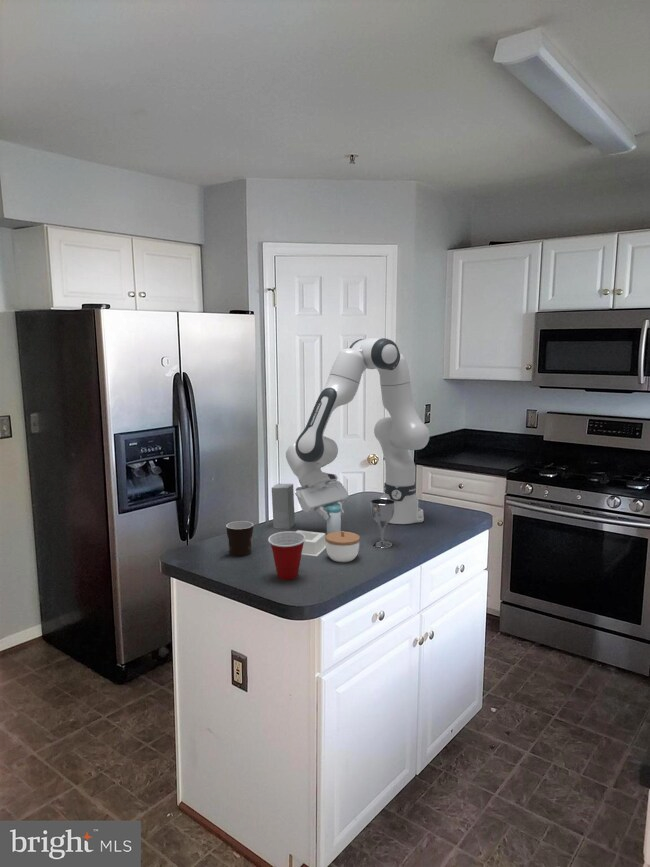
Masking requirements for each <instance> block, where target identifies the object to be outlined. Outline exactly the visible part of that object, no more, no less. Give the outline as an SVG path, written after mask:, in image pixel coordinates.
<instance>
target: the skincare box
mask: <svg viewBox="0 0 650 867" xmlns="http://www.w3.org/2000/svg"><path fill="white" fill-rule="evenodd" d="M271 501H272V502H271V504H272V505H271V506H272V520H273V522H272V523H273V524H272V526H273V529H285V530H290V529H291V528H294V526H295V525H296V519H295V517H296V515H295V490H294V483H277V484H275V485H273V486H272V487H271Z"/></svg>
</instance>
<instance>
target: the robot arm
mask: <svg viewBox="0 0 650 867" xmlns="http://www.w3.org/2000/svg"><path fill="white" fill-rule="evenodd" d="M365 370H376V371H378V374H379V384H380V392H381V402H382V406H383V407H384V408H385V410H386V411H387V412H388V413H389V416H388V417H382V418H379V419H378V421H377V422H376V423H375V425H374V429H373V434H374V437H375V439H376V440H377V441H378V442H379V444H380V447H381V450H382V454H383V459H384V464H385V482H384V484H383V485H384V486H383V491H384V492H383V495H381V496H380V497H379V498H386V499H392V500H394V501H395V509H394V514H393V517H392V519H391V520H390V521H389V523H388V524H394V525H395V524H396V525H409V524H411V525H412V524H415V523H423V521H425V520H424V519H425V518H424V509H422V508H421V507H419V499H418V496H417V494H416V491H417V486H416V481H415V479H416V477H415V475H416V473H415V472H416V465H415V464H416V463H415V462H414V460H413V458H411V456H410V452H409V451H418V450H422V449H424V448H425V447H426V446H428V443H429V441H430V437H431V436H430V435H431V434H430V430H429V428H428V426H426V424H424V422H423V421H422V420H421V418H420V416H419V414H418V412H417V410H416V409H417V408H416V407H415V403H414V399H413V394H412V386H411V376H410V370H409V367H408V363H407V360H406V357H405V356H404V355H403V354H401V353H400V349H399V347H398V345H397V344H396V342H395V341H393V340H391V339H389V338H384V337H382V338H380V337H369V338H360V339H357V340H355V341H354V342H352V343H351V344H350V346H349V348H347V347H346V348H343V349H341V350H340V351H339V352H338V354H337V356H336V358H335V359H334V362H333V364H332V367H331V369H330V372H329V376H328V378H327V381H326V383H325V385H324V388H323V389H322V391H321V392H320V394H319V395H318V398H317V399H316V402H315V404H314V406H313V409H312V411H311V413H310V416H309V418H308V421H307V423H306V426H305V427H304V429H303V430H302V432H301V433H300V434H299V436H298V437H297V438H296V441H295V442H293V443H292V444H291V445H289V446H288V448H287V449H286V451H285V460H286V462H287V464H288V466H289V467H290V469H291V472H292V473H293V475H295V476H296V478H297V479H298V483H299V485H300V486H298V487H296V488H295V490H294V495H295V496H296V499H297V500H298V503H299V505H300V508H301V509H302V511H303V512H305V513H306V514H308V513H311V512H315V511H316V512H317V513H318V514H319V515H321V516H322V517H323V519H324V521H325V520H326V521H327V519H329V518H330V517H331V516H330V515H329V512H328V513H327V511H326V510H324V509H325V508H326V509H327V506H328V505H339V506H341V516H343V515H344V514H345V511H344V509H343V503H346V501H347V500H348V499H349V492H348V491H347V490H346V488H345V486H344V485H343V483H341V481H339V480H338V479H339V477H338V476H337V475H336V474H334V473H328V472H324V471H322V468H323V467H326V466H327V465H329V464H331V463H332V462H333V461H335V459H336V458H337V457H338V453H339V452H338V451H339V448H338V445H337V442H336V441H335V440H333V439H332V438H330V437H327V436H324V434H325V433H324V432H325V431H326V428H327V425H328V423H329V421H330V418H331V416H332V414H333V412H334V411H335V410H336V409H337V408H339V407H341V406H344V405H347V404H350V402H352V401H353V400H354V398H355V396H356V395H357V392H358V390H359V386H360V383H361V379H362V376H363V374H364V372H365Z"/></svg>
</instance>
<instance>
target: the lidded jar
mask: <svg viewBox="0 0 650 867" xmlns="http://www.w3.org/2000/svg"><path fill="white" fill-rule="evenodd" d="M325 540H326V548H325V549H326V554H327V556H328V557H329V559H330V560H332V561H334V562H338V563H348V562H352V561H354V560H355V558H357V556H358V553H359V550H360V541H361V536H360V535H359V534H357V533H354V532H351V531H344V530H341V532H332V533H329V534H327V533H326V536H325Z"/></svg>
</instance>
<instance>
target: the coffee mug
mask: <svg viewBox="0 0 650 867" xmlns="http://www.w3.org/2000/svg"><path fill="white" fill-rule="evenodd" d="M225 528H226V534H227V542H228V549H229V555H230V556H232V557H237V558H239V557H241V558H242V557H247V556H249V555H250V554H251V553H252V544H253V533H254V523H253V522H251V521H247V520H239V521H236V520H235V521H232V522H229V523H227V524H226V525H225Z"/></svg>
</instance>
